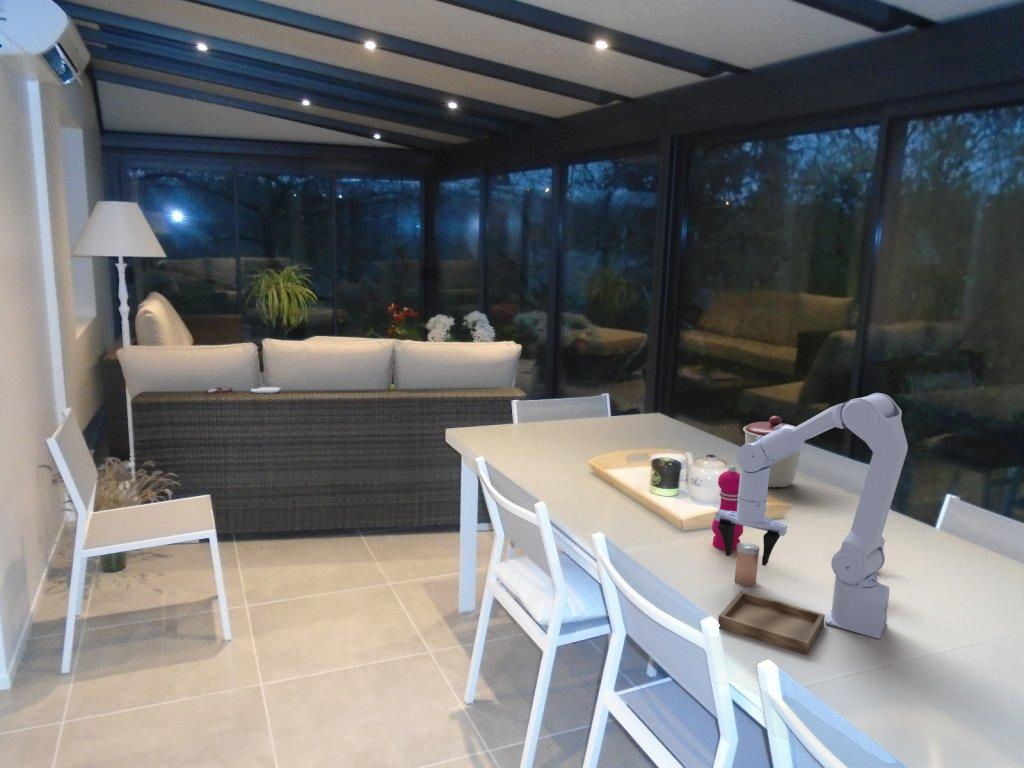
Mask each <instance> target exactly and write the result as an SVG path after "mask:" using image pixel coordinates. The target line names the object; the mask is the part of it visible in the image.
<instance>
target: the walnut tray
mask: <svg viewBox="0 0 1024 768" xmlns="http://www.w3.org/2000/svg"><path fill="white" fill-rule="evenodd" d="M825 620H826V614H823V613H820V612H818V611H813V610H809V609H806V608H802V607H799V606H796V605H792V604H788V603H785V602H782V601H779V600H774V599H770V598H767V597H764V596H760V595H756V594H753V593H749V592H746V591H743V590H741V591H740V592H738V593H737V594H736V596H735V597H734V598H733V599H732V600H731V602H730V603H729V604H728V605H727V606H726V607H725V608H724V610H722V611H721V613H720V614H719V615H718V620H717V623H718V622H719V624H720V627H721V628H720V627H719V628H720V629H722V630H723V629H724V630H726V629H727V631H729V630H730V632H732V631H734V632H733V633H736V632H737V633H736V634H739V635H743V636H745V637H748V638H752V639H755V640H759V641H762V642H763V643H764V642H765V643H768V644H771V645H774V646H777V647H780V648H784V649H787V650H789V651H793V652H796V653H799V654H802V655H805V656H806V655H808V653H809V652H810V650H811V649H812V646H813V645H814V644H815V643H814V642H815V641H816V640H817V638H818V636H819V634H820V633H821V631H822V629H823V627H824V625H825Z"/></svg>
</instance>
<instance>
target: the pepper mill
mask: <svg viewBox="0 0 1024 768" xmlns="http://www.w3.org/2000/svg"><path fill="white" fill-rule="evenodd" d="M739 482H740V472H738V471H737V467H736V466H735V465H733V464H732V465H730V466H728V470H727V471H726V470H725V471H724V472H722V473H720V475H719V477H718V480H717V484H718V487H719V488H720V489H719V491H718V492H719V494H718V496H719V498H720V504H719V508H718V509H720V510H726V511H735V512H737V505H738V493H739ZM719 522H720V521H717V520H715V517H713V521H712V523H711V524H712V525H711V530H712V532H713V534H714V535H713V537H712V545H713V546H714V547H715V548H717V549H719V550H722V551H726V550H725V545H724V541H723V538H722V535H721V533H720V531H719V529H718V524H719ZM743 532H744V526H743V525H739V524H736V526H735V531H734V537H733V551H737V544H738V543H741V540H740V537H741V536H742V535H743Z"/></svg>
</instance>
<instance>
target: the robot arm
mask: <svg viewBox="0 0 1024 768" xmlns="http://www.w3.org/2000/svg"><path fill="white" fill-rule="evenodd" d="M902 412H903V411H902V409H901V408H900V407H899V406H898V404H897V403H896V402H895V401H894V400H893V398H892V397H890V396H889V395H888V394H885V393H880V392H874V393H871V394H869V395H867V396H863V397H857V398H853V399H849V401H846V402H842V403H839V404H836V405H833V406H830V407H829V408H827V409H825V410H824V411H822V412H820V413H818V414H816V415H815V416H813V417H811V418H810V419H807V420H806V421H804V422H802V423H800V424H798V425H797V426H795V425H792V424H788V425H784V426H783V425H782V424H781V425H778V426H776V427H774V430H775V431H773V432H771V433H769V434H767V435H765V436H762V435H761V436H758V437H756V442H753V443H747V444H745V443H744V444H743V445H741V446H740V447H739V449H738V450H737V452H736V456H735V458H736V461H737V464H738V466H739V467H740V472H739V474H740V482H739V493H738V505H737V512H735V511H726V510H720V509H719V508H718V509H717V510H716V511H715V512H714V518H715V520H717V521H720V522H719V524H718V529H719V531H720V533H721V535H722V538H723V541H724V545H725V550H724V551H725V556H726V557H729V556H731V555H733V551H734V550H733V537H734V531H735V526H736V524H739V525H743V527H748V528H751V529H752V528H753V529H758V530H761V531H765V533H764V534H763V536H762V537H763V539H762V541H763V552H762V558H761V559H762V560H761V565H762V566H766V565H768V563H769V561H770V560H769V559H770V556H771V554H772V551H773V549H774V548H775V545H776V543H777V542H778V540H779V538H780V537H784V536H785V535H786V534H787V532H788V531H787V530H788V524H786V523H782V522H778V521H776V520H773V519H771V518H769V517H768V518H767V517H766V513H767V512H766V511H767V501H768V492H769V491H768V490H769V487H768V481H769V473H770V468H771V466H772V465H773V464H774V463H776V462H778V461H780V460H782V459H784V458H786V457H788V456H790V455H792V454H794V453H796V452H798V451H800V450H801V451H802V450H803V447H804V443H805V441H807V440H810V439H811V438H814V437H816V436H819V435H820V434H822V433H825V432H826V431H828V430H831V429H834V428H837V429H840V430H841V429H842V430H843V429H846V428H847V429H848V430H850V431H851V432H852V433H853V434H854V435H856V437H858V438H860V439H861V440H862V441H863V442H864V443H866V445H867V446H868V447H869V449H870V450H871V451H872V455H871V459H870V461H869V466H868V469H867V473H866V476H865V480H864V483H863V487H862V490H861V493H860V498H859V501H858V505H857V508H856V510H855V511H856V512H855V514H854V518H853V521H852V524H851V527H850V531H849V532H848V534H846V537H845V538H843V541H842V543H841V546H840V548H839V549H838V551H836V552H835V553H834V555H833V557H832V558H831V569H832V572H833V573H834V575H835V577H834V578H835V580H834V584H833V585H834V587H833V597H832V606H831V610H830V611H829V614H828V615H827V617H826V618H825V619H824V624H827V625H829V626H833V627H836V628H839V629H843V630H846V631H850V632H854V633H857V634H859V635H864V636H868V637H871V638H874V639H880V638H881V636H882V633H883V630H884V628H885V626H886V625H887V621H888V615H887V614H888V609H889V608H888V607H889V599H890V586H888V585H885V584H882V583H880V582H879V579H878V574H877V573H878V571H879V570H880V569H882V568H883V566H884V564H885V562H886V556H885V552H884V546H885V542H886V540H885V538H884V537H883V532H884V528H885V525H886V522H887V520H888V516H889V512H890V510H891V509H890V508H891V506H892V501H894V500H893V499H894V495H895V493H896V489H897V486H898V482H899V479H900V476H901V472H902V469H903V466H904V462H905V460H906V457H907V453H908V448H909V447H908V446H909V445H908V441H907V437H906V434H905V433H906V432H905V430H904V426H903V423H902V415H903V413H902ZM791 425H792V426H791ZM794 426H795V427H794Z"/></svg>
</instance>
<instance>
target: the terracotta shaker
mask: <svg viewBox="0 0 1024 768" xmlns="http://www.w3.org/2000/svg"><path fill="white" fill-rule="evenodd" d="M759 554H760V546H759V545H757V544H754V543H752V542H740V543H738V544H737V550H736V557H735V569H734V570H735V572H734V580H735V581H734V582H735V584H737V585H739V584H740V585H739V586H741V585H744V586H743V587H747V586H751V587H754V586H753V585H755V584H757V575H758V567H759V566H758V565H759V564H758V563H759V556H760V555H759ZM755 586H756V585H755Z"/></svg>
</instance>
